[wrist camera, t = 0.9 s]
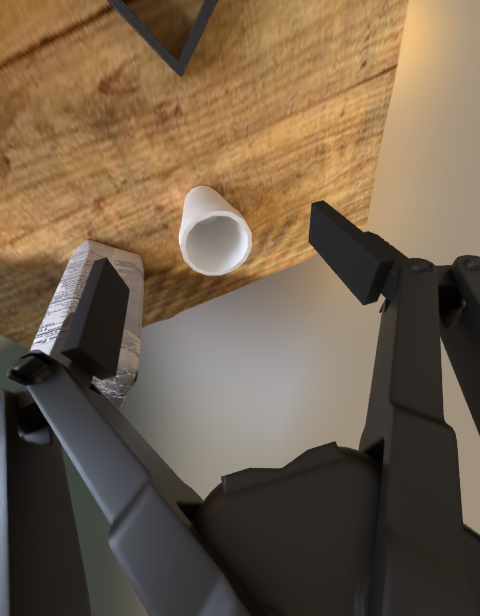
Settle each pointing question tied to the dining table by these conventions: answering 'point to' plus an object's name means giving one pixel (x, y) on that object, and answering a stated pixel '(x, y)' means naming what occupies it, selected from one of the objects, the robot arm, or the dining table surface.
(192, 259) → the foam cup
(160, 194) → the dining table surface
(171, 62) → the square frame
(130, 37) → the dining table surface
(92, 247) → the juice carton
